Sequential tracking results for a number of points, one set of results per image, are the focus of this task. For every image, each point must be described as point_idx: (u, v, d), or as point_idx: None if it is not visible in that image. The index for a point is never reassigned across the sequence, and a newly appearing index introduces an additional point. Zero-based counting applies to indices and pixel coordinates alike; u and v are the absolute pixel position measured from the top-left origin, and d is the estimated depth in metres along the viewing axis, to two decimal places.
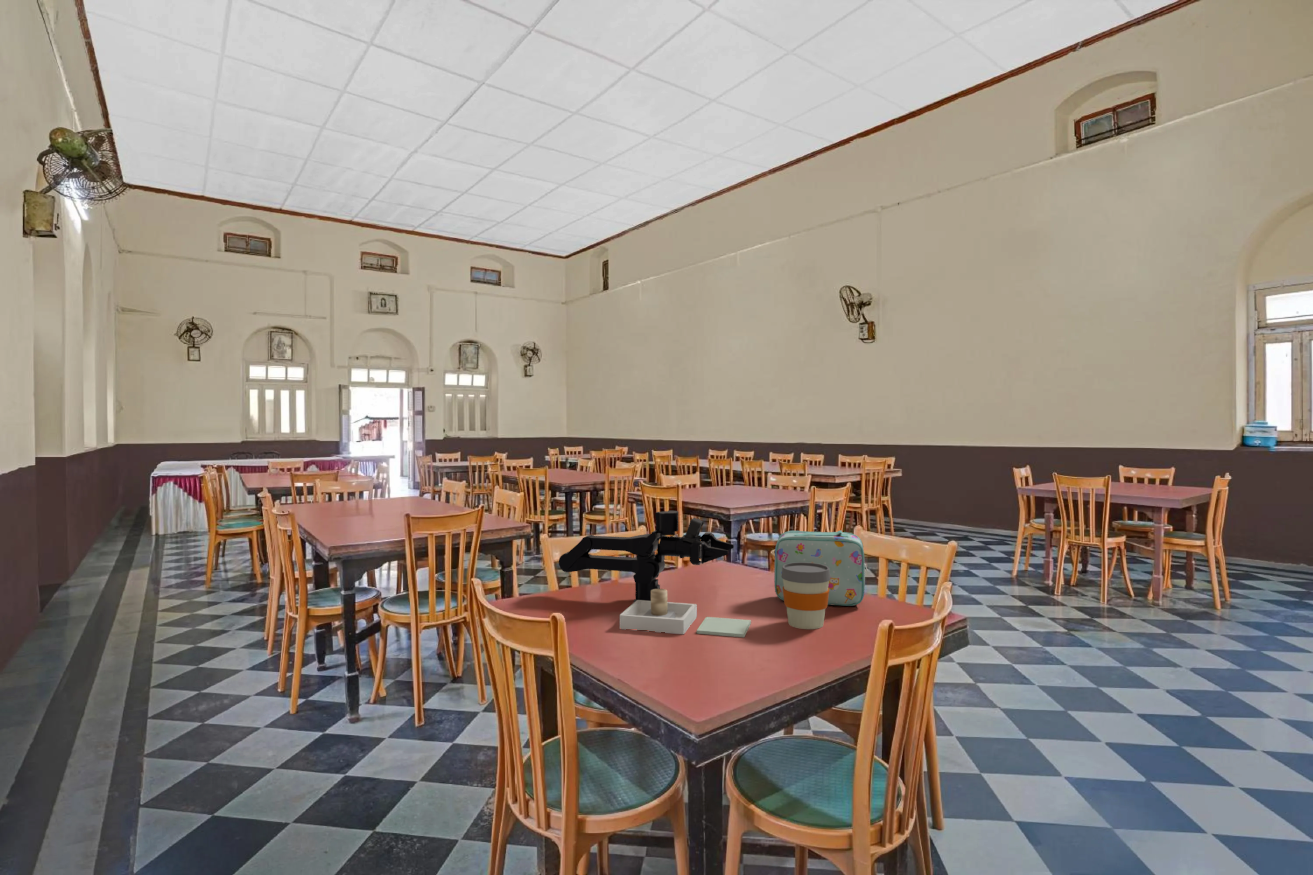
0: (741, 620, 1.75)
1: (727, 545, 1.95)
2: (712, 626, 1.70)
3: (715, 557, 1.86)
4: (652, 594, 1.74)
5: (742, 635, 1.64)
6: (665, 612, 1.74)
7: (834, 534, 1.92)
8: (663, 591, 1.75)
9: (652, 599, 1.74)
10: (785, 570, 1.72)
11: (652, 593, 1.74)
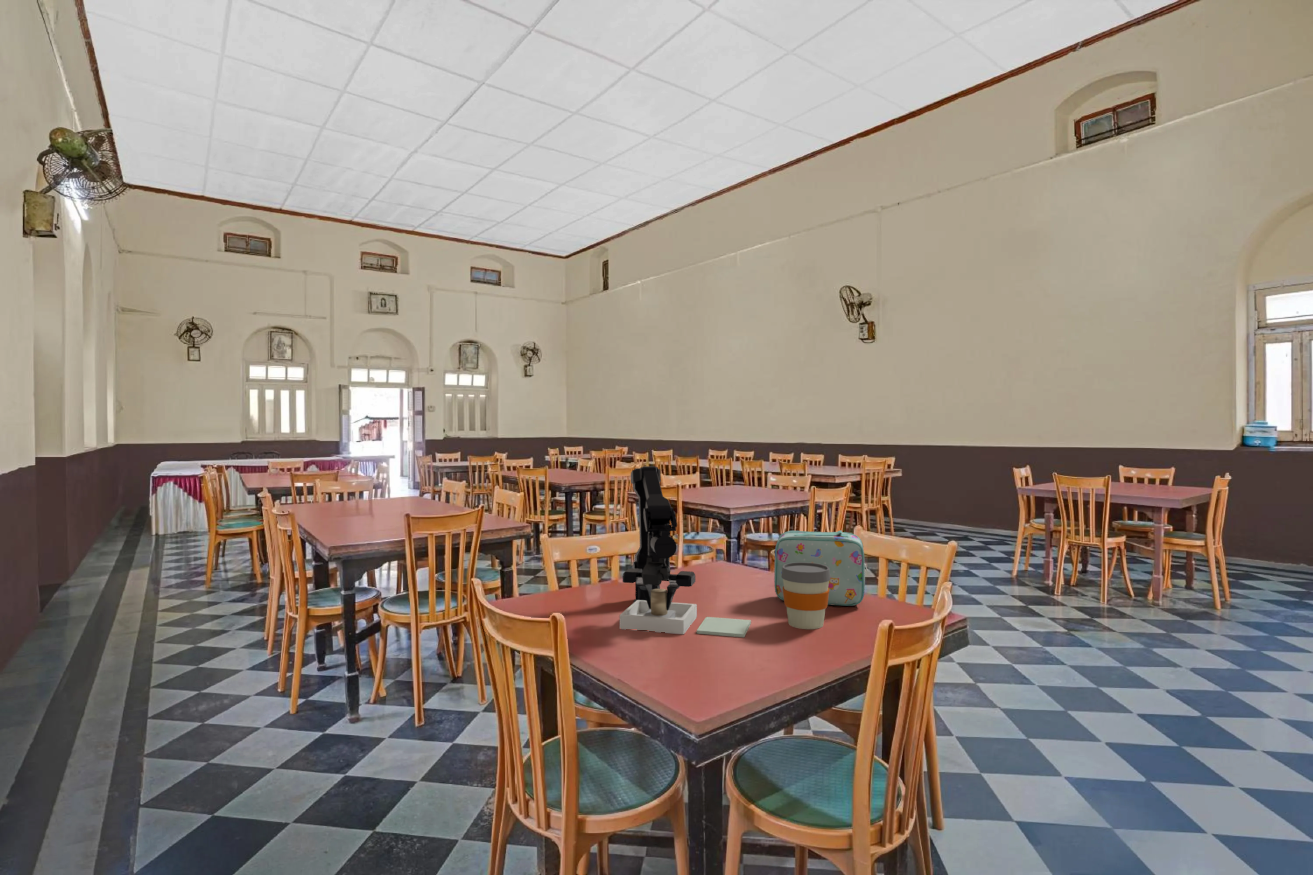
0: (741, 620, 1.75)
1: None
2: (712, 626, 1.70)
3: None
4: (652, 594, 1.74)
5: (742, 635, 1.64)
6: (665, 612, 1.74)
7: (834, 534, 1.92)
8: (663, 591, 1.75)
9: (652, 599, 1.74)
10: (785, 570, 1.72)
11: (652, 593, 1.74)
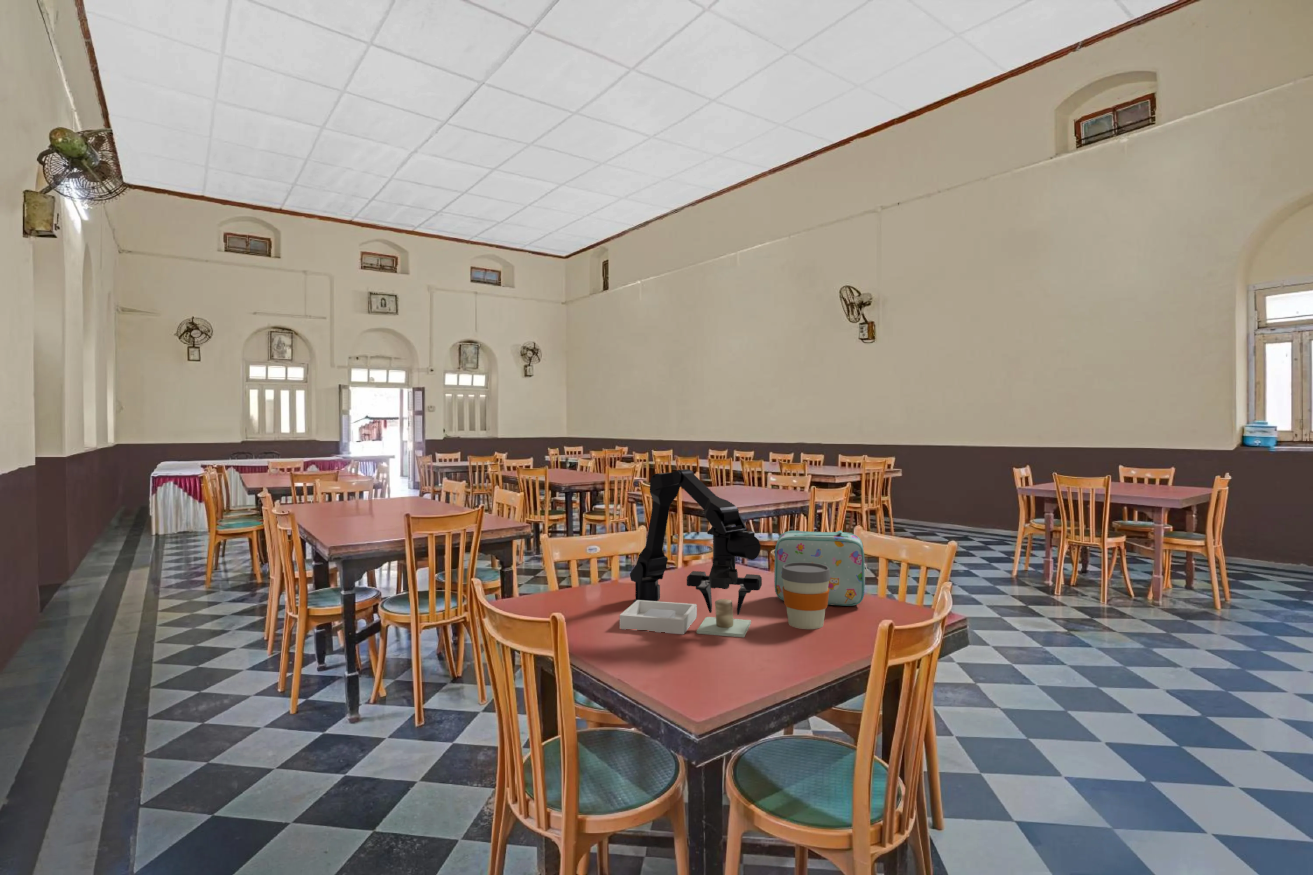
0: (741, 620, 1.75)
1: (737, 607, 1.70)
2: (712, 626, 1.70)
3: None
4: (717, 606, 1.69)
5: (742, 635, 1.64)
6: (731, 623, 1.69)
7: (834, 534, 1.92)
8: (728, 602, 1.70)
9: (717, 611, 1.69)
10: (785, 570, 1.72)
11: (717, 605, 1.69)
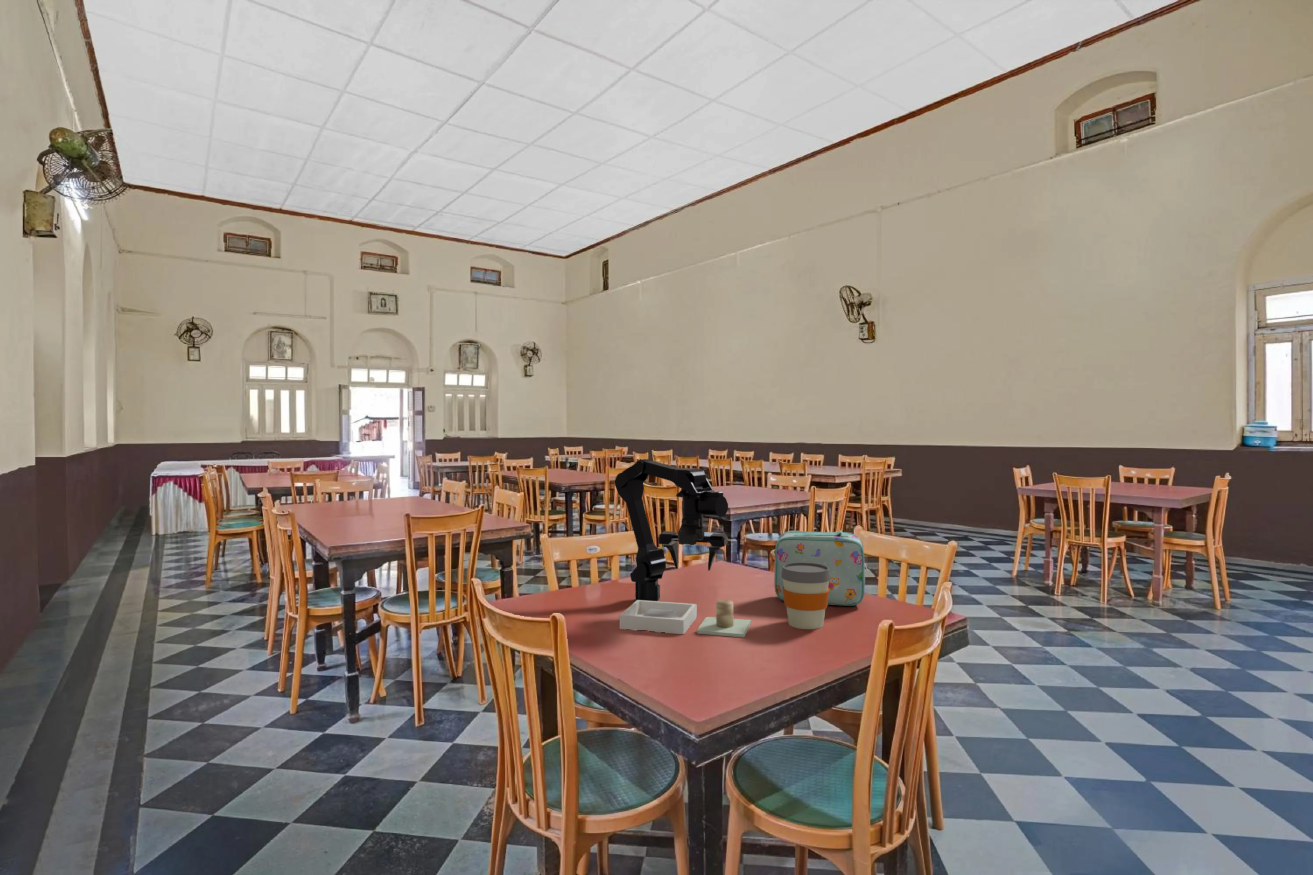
0: (741, 620, 1.75)
1: None
2: (712, 626, 1.70)
3: None
4: (718, 605, 1.70)
5: (742, 635, 1.64)
6: (731, 624, 1.69)
7: (834, 534, 1.92)
8: (729, 602, 1.70)
9: (718, 611, 1.70)
10: (785, 570, 1.72)
11: (718, 604, 1.70)
